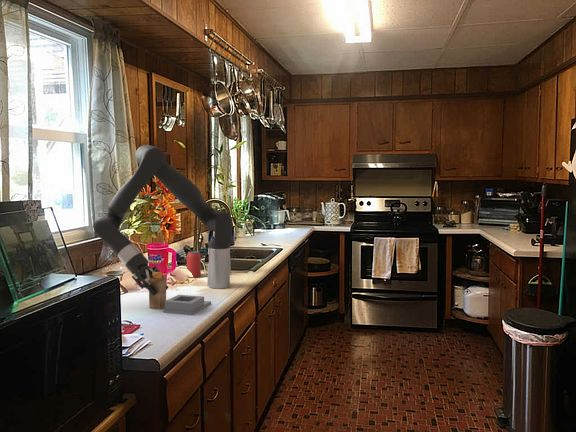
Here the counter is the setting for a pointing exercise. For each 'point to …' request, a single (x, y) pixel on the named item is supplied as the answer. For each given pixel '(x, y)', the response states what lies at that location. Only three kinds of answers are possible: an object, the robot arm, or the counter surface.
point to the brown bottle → (160, 286)
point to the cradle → (185, 304)
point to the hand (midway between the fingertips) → (161, 291)
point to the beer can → (194, 263)
